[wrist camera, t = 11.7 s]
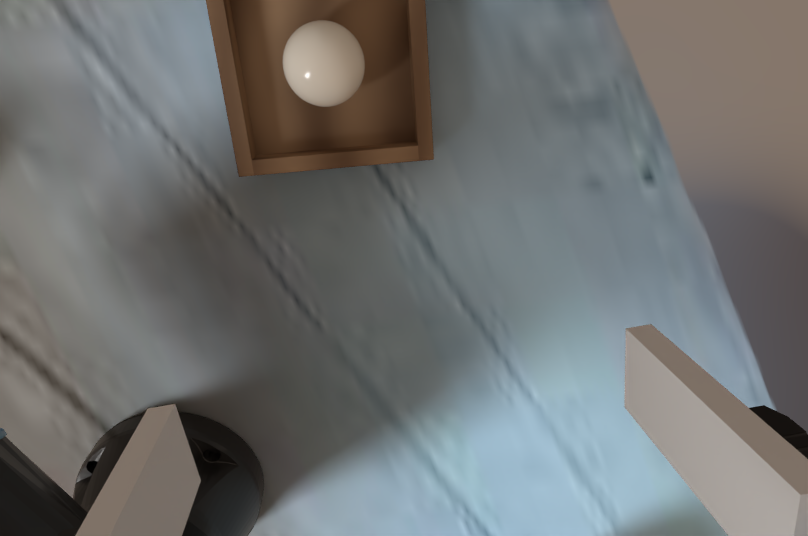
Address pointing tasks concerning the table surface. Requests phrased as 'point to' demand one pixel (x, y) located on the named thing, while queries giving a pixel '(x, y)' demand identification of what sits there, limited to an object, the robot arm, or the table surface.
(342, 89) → the white ball
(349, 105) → the caddy
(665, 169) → the table surface
